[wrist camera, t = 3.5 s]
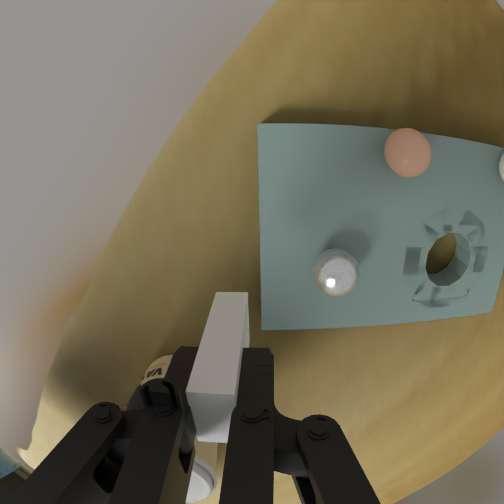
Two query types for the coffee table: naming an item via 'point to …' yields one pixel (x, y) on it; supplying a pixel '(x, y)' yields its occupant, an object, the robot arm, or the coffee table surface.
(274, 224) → the board
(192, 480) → the coffee cup
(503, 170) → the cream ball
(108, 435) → the robot arm
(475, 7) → the coffee table surface
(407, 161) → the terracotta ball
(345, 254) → the steel ball
